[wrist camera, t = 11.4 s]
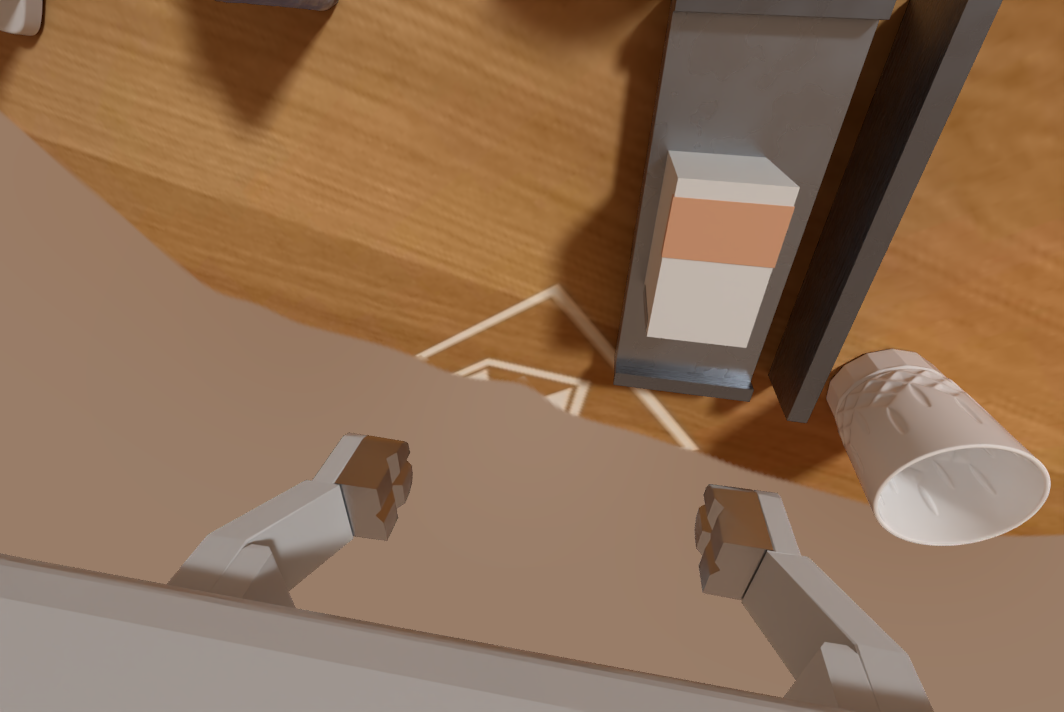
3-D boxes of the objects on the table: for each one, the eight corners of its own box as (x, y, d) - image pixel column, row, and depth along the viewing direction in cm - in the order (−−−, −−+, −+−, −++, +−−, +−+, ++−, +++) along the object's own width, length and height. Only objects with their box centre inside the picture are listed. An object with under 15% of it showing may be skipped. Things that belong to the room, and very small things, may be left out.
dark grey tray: (614, 356, 36) (613, 398, 32) (673, -12, 24) (682, -21, 20) (785, 377, 35) (806, 423, 31) (938, -2, 23) (1007, -10, 19)
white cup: (820, 437, 38) (874, 551, 29) (812, 354, 34) (872, 457, 26) (942, 421, 35) (1039, 540, 27) (949, 328, 31) (1063, 433, 23)
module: (642, 288, 30) (645, 337, 25) (667, 150, 26) (677, 178, 21) (727, 296, 30) (747, 349, 25) (767, 157, 25) (801, 187, 20)
